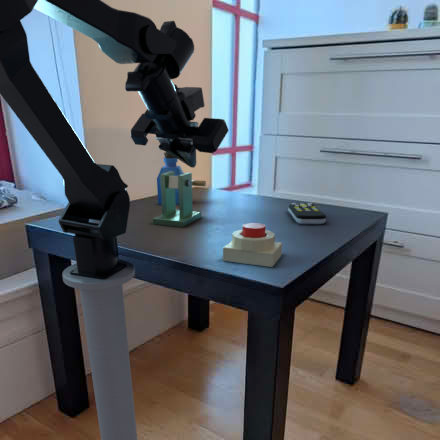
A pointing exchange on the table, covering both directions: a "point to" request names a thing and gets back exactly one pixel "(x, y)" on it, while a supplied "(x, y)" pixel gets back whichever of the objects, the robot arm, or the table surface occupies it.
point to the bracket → (169, 206)
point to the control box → (253, 249)
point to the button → (253, 230)
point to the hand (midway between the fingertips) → (193, 165)
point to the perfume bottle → (169, 166)
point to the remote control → (306, 213)
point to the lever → (174, 182)
